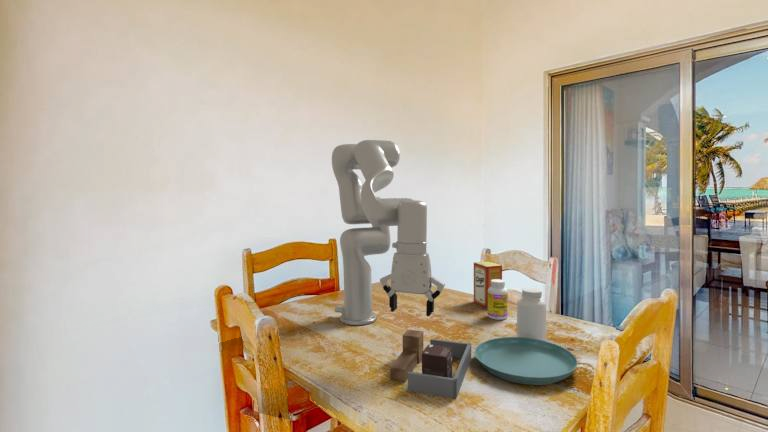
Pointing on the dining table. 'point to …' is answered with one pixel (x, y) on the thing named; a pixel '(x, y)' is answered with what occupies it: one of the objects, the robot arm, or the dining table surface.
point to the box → (437, 361)
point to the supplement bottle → (497, 300)
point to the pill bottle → (531, 315)
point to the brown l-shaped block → (408, 356)
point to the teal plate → (526, 360)
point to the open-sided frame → (438, 383)
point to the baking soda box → (484, 280)
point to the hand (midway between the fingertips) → (411, 312)
